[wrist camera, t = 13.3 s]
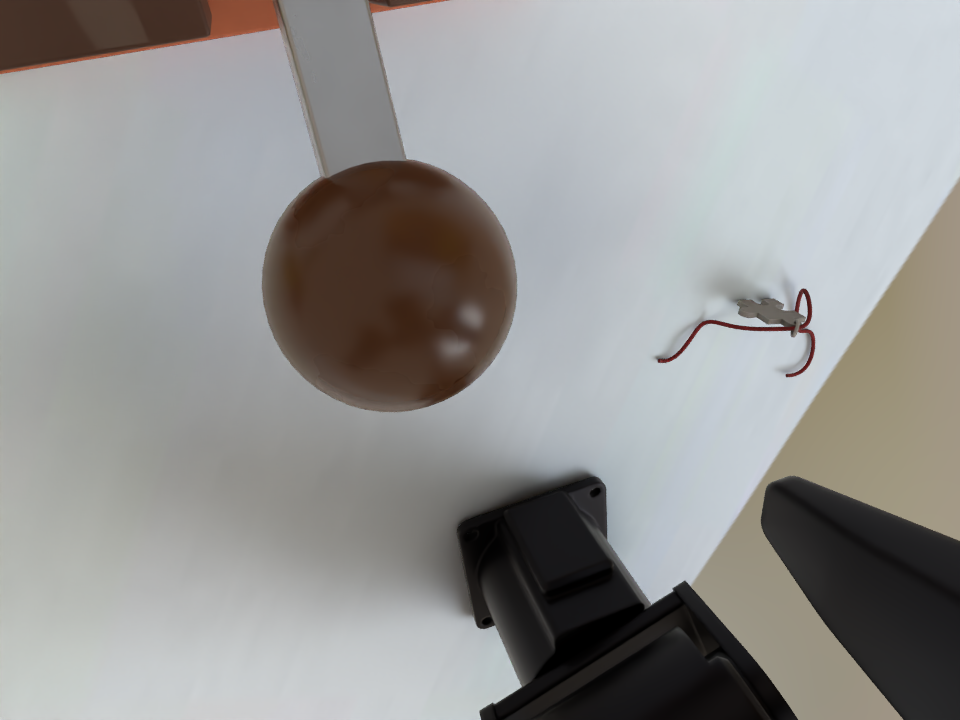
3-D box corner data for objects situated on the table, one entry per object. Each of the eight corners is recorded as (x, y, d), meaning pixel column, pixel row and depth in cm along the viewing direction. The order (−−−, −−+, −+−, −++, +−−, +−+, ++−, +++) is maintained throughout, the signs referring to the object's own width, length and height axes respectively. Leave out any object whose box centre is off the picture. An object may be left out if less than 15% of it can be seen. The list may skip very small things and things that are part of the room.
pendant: (840, 279, 27) (895, 306, 25) (803, 371, 29) (851, 404, 27) (677, 284, 24) (723, 316, 22) (649, 386, 26) (689, 424, 24)
